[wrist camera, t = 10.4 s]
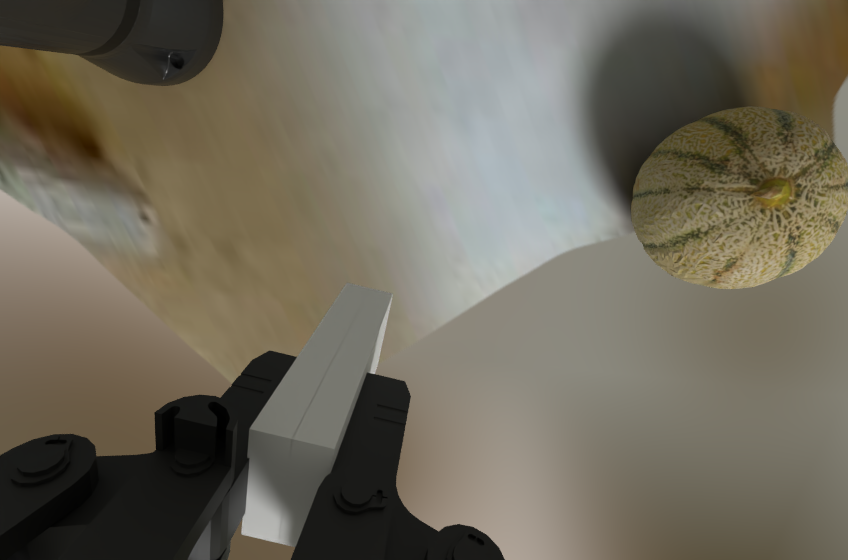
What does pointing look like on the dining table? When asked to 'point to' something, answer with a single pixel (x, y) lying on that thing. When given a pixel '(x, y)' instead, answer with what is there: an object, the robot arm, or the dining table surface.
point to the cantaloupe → (740, 197)
